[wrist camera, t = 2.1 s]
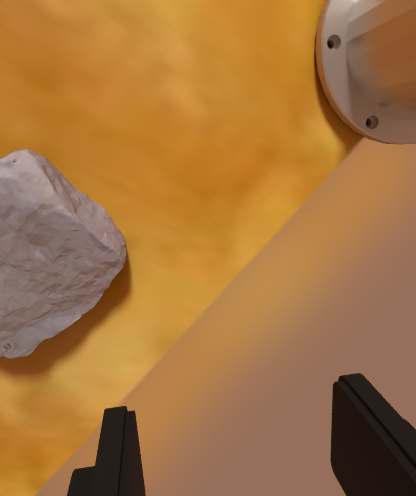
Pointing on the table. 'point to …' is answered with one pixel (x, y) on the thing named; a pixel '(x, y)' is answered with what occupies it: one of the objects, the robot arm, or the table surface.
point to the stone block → (49, 253)
